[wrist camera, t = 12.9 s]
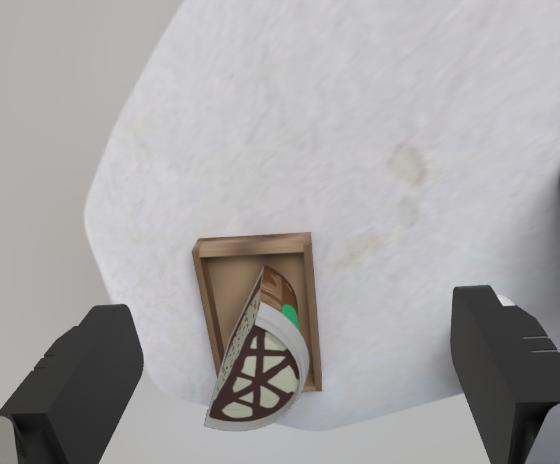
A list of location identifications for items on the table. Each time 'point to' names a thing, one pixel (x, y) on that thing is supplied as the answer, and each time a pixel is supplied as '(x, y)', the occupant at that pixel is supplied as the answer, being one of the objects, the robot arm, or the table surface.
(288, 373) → the food container
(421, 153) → the table surface
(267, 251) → the walnut tray
